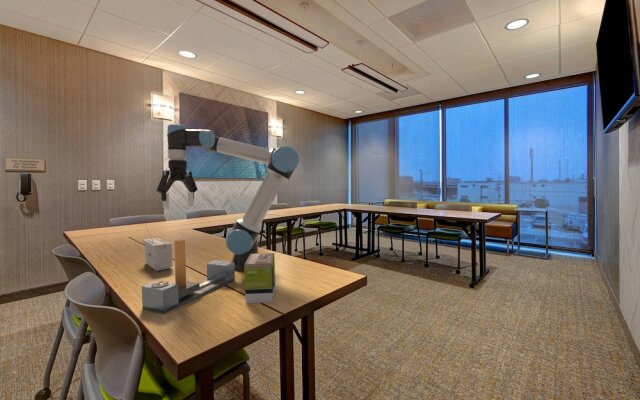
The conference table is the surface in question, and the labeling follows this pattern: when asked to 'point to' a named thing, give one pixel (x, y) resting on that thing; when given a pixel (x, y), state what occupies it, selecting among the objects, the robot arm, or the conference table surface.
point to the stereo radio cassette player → (158, 253)
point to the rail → (166, 294)
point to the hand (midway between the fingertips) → (179, 207)
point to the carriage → (182, 271)
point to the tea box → (259, 278)
